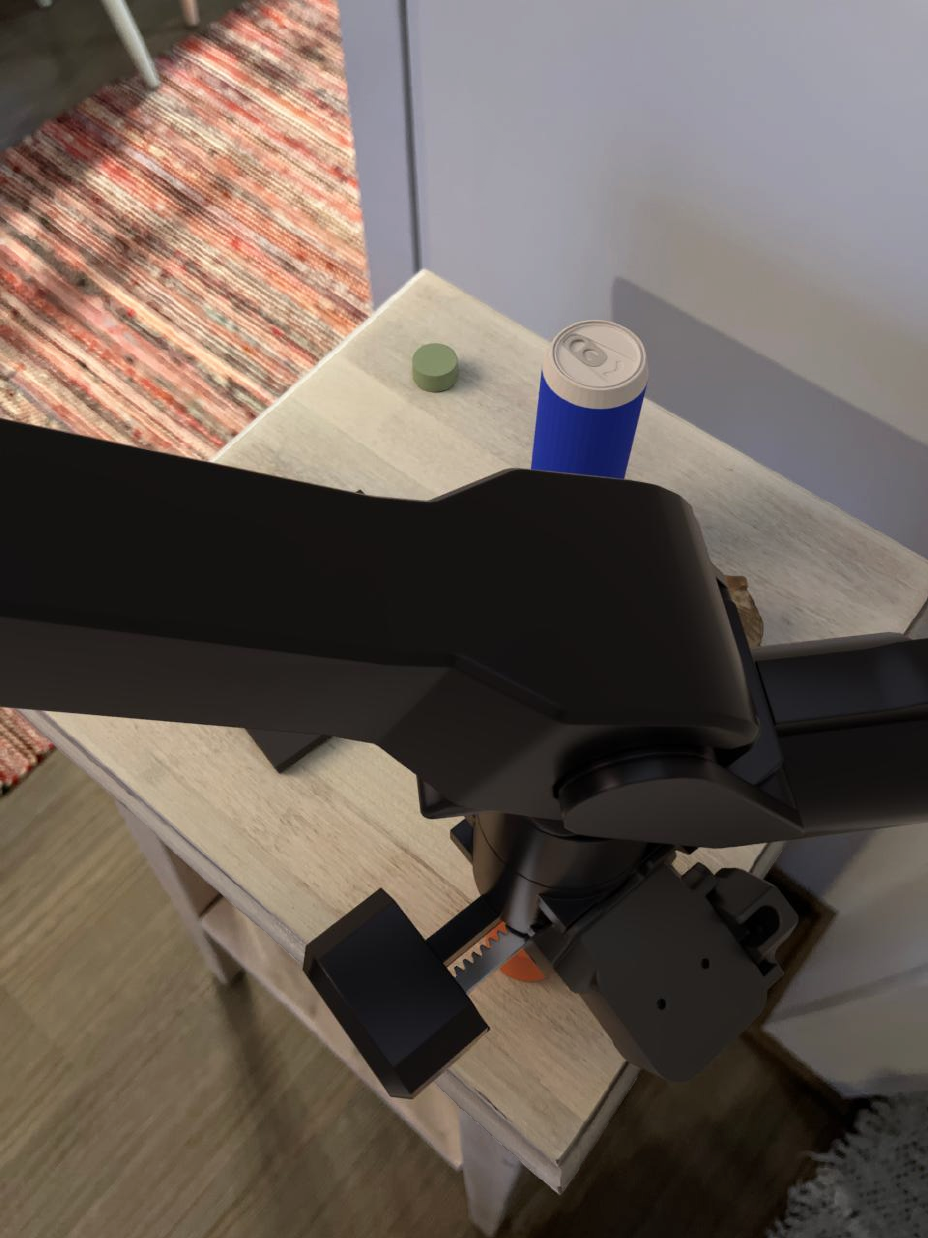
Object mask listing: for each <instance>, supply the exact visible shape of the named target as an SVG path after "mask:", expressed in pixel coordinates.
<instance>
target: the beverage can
mask: <svg viewBox="0 0 928 1238" xmlns="http://www.w3.org/2000/svg"><path fill="white" fill-rule="evenodd" d="M544 353H545V354H544V356H543V357H542V363H541V372H540V379H539V380H540V381H539V390H538V397H537V398H538V399H537V407H536V408H537V409H536V418H535V427H534V435H533V443H532V445H533V446H532V454H531V463H530V469H534V470H544V471H553V472H563V473H572V474H582V475H591V476H601V477H610V478H620V479H626V474H627V469H628V466H629V462H630V458H631V453H632V449H633V445H634V440H635V435H636V432H637V428H638V424H639V420H640V416H641V412H642V407H643V403H644V399H645V396H646V390H647V388H648V387H647V386H648V382H649V378H650V377H649V376H650V368H649V362H648V357H647V353H646V348H645V345H644V344H643V342H642V340H641V339H640V338H639V337H638V336H637V334H635V333H634V332H633V330H630V329H629V328H627V327H625V326H624V325H621V324H618V323H617V322H614V321H609V320H602V319H589V320H582V321H578V322H575V323H572V324H570V325H568V326H566V327H565V328H563V329H562V330H560V331H559V332H558V333H557V334H556V335H555V337H554V338H553V340H552V341H551V343H550V344H549V346H548V348H547V349H546V352H544Z"/></svg>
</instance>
